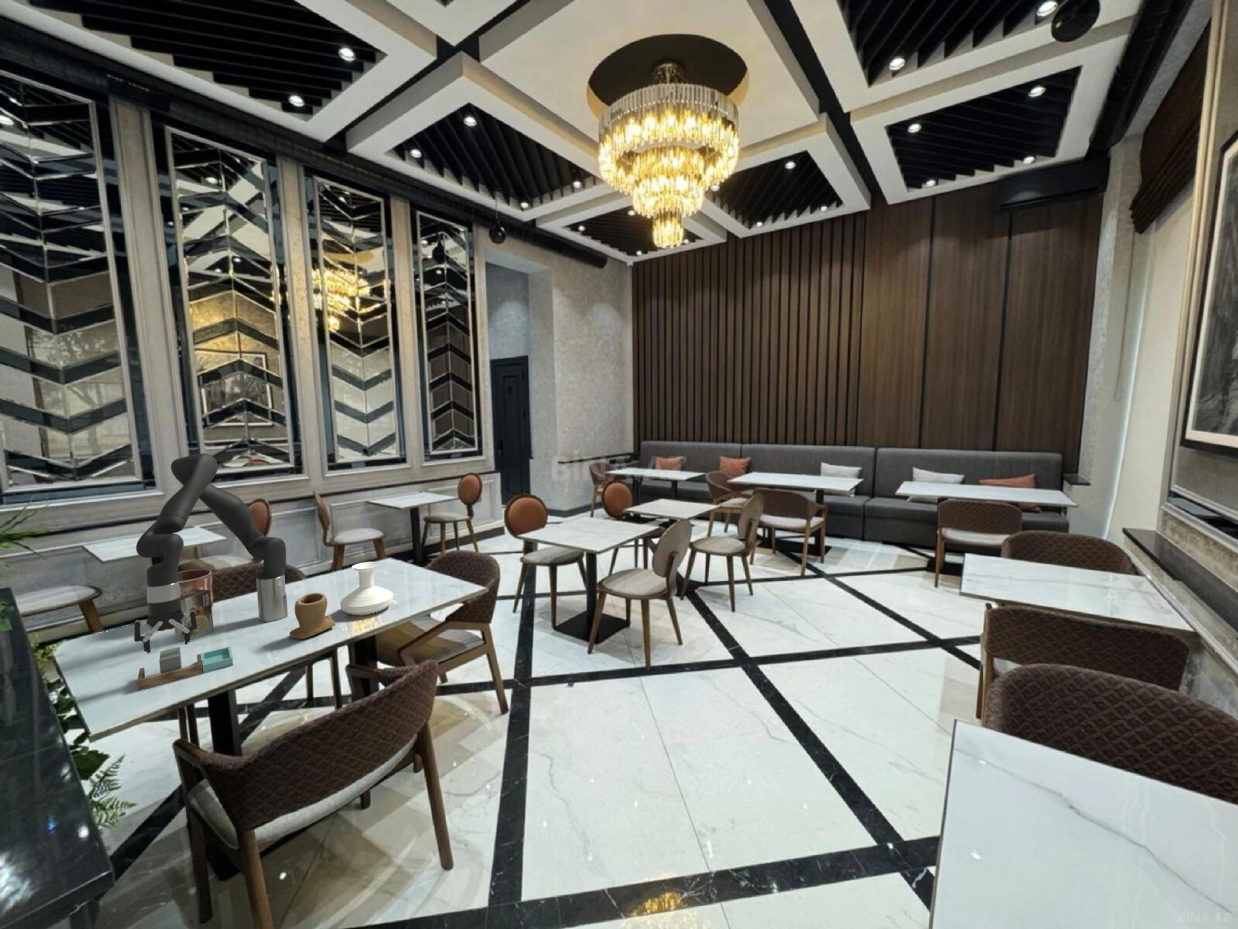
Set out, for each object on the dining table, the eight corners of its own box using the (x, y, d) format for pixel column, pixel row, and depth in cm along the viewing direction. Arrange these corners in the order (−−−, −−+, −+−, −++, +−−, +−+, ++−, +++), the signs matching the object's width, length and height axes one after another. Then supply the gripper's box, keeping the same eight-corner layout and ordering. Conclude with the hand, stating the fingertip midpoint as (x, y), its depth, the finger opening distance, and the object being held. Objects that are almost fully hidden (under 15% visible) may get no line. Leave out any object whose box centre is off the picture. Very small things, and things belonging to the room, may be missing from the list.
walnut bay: (201, 662, 159) (201, 653, 159) (202, 673, 152) (201, 664, 151) (140, 677, 149) (139, 668, 149) (138, 690, 142) (137, 681, 142)
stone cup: (304, 644, 172) (301, 603, 171) (285, 637, 177) (282, 598, 176) (344, 628, 185) (342, 590, 184) (325, 622, 191) (323, 585, 189)
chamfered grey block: (181, 667, 156) (180, 647, 155) (181, 677, 150) (179, 655, 149) (162, 672, 153) (160, 651, 152) (161, 682, 147) (159, 660, 146)
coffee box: (200, 629, 185) (197, 588, 183) (214, 630, 183) (211, 589, 182) (174, 639, 176) (170, 597, 174) (188, 641, 174) (184, 598, 173)
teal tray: (230, 653, 165) (230, 646, 165) (233, 665, 157) (232, 658, 157) (202, 660, 160) (201, 653, 160) (203, 673, 152) (202, 665, 152)
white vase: (354, 623, 190) (351, 576, 188) (332, 611, 202) (329, 566, 200) (402, 608, 205) (401, 564, 204) (379, 597, 217) (377, 556, 216)
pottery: (148, 623, 190) (144, 579, 189) (202, 607, 206) (199, 566, 204) (170, 631, 183) (167, 585, 181) (224, 615, 199) (221, 572, 197)
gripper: (194, 589, 156) (197, 637, 158) (132, 599, 147) (136, 650, 148) (194, 595, 151) (198, 645, 152) (130, 606, 141) (134, 659, 143)
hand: (167, 648), depth 150 cm, fingers open, 8 cm apart
